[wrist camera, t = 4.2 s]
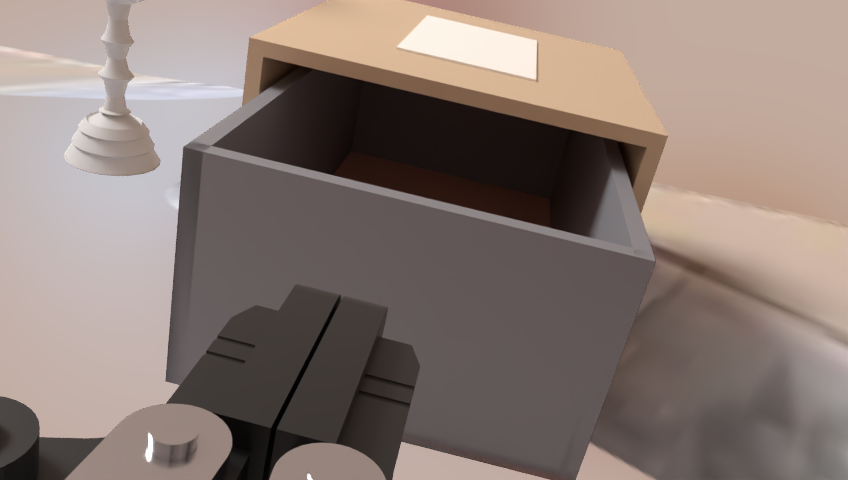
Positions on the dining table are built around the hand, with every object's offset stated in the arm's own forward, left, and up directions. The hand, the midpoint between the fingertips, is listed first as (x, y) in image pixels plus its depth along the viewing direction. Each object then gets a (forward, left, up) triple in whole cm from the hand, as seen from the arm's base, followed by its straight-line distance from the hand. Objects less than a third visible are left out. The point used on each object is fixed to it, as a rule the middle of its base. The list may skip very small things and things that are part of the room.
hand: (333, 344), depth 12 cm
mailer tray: (-4, -23, -10) cm, 25 cm away
